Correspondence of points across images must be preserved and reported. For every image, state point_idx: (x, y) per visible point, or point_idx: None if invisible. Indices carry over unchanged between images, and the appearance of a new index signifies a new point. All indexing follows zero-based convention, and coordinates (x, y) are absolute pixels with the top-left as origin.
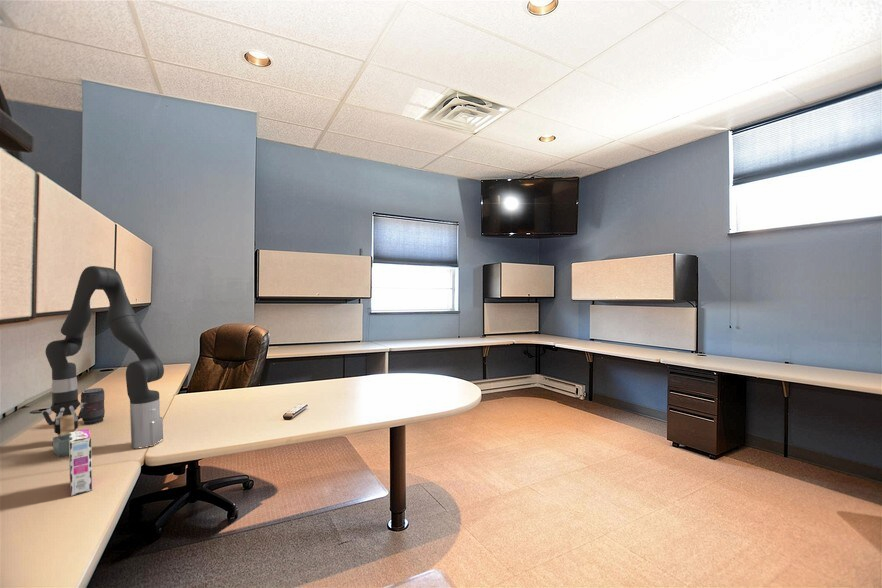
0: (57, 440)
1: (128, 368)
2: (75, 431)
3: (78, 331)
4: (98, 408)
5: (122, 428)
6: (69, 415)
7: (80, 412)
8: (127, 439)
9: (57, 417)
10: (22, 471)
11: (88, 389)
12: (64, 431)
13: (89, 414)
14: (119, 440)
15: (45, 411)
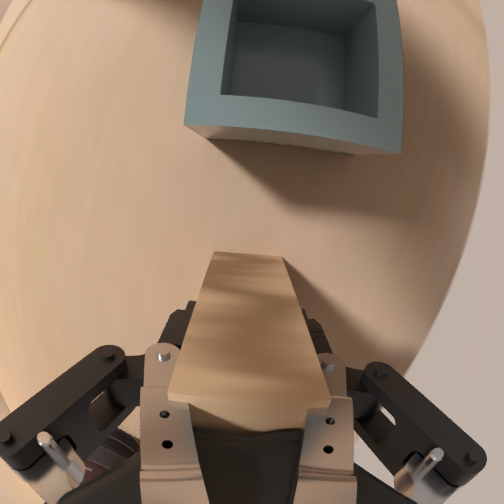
0: (397, 36)
1: None
2: None
3: None
4: None
5: (21, 259)
6: (220, 401)
7: (104, 422)
8: (65, 33)
9: (348, 414)
10: (463, 38)
11: None
12: (270, 293)
13: (109, 462)
14: (83, 42)
15: (475, 473)
